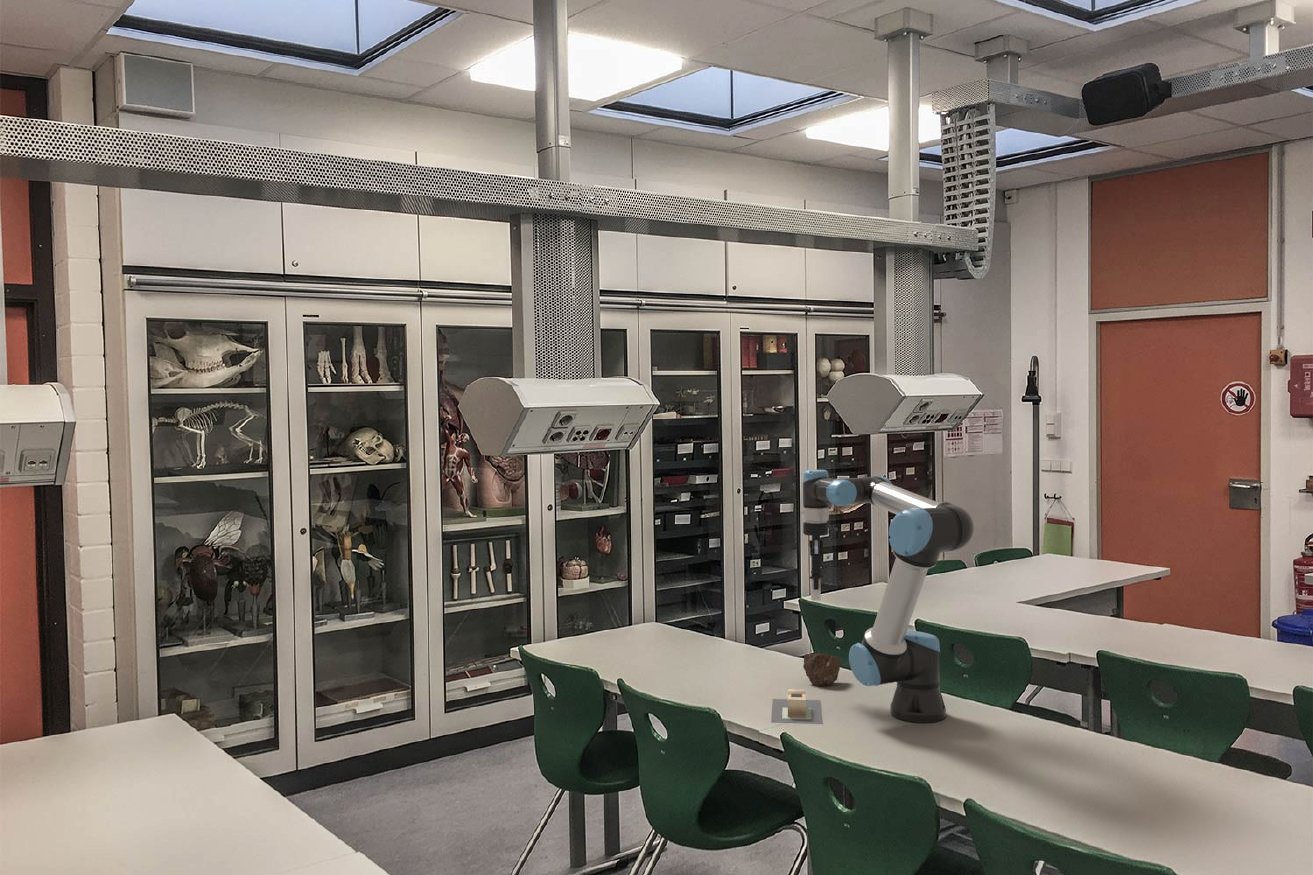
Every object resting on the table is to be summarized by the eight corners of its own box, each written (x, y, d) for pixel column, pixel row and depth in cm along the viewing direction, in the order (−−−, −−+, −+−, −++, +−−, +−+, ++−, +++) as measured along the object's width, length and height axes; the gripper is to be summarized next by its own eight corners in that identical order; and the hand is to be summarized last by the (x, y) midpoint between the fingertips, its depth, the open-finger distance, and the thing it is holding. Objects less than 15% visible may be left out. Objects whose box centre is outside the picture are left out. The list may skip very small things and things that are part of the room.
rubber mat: (772, 700, 306) (772, 698, 305) (820, 701, 304) (820, 699, 304) (771, 723, 284) (771, 721, 284) (822, 725, 282) (822, 723, 282)
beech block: (787, 688, 297) (787, 699, 287) (805, 689, 297) (805, 699, 287) (787, 706, 298) (787, 717, 288) (805, 706, 297) (805, 717, 287)
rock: (835, 662, 328) (850, 651, 320) (837, 694, 323) (851, 683, 315) (799, 656, 326) (813, 644, 318) (800, 687, 320) (814, 676, 312)
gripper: (802, 518, 317) (803, 595, 318) (803, 524, 304) (803, 603, 305) (827, 518, 316) (827, 595, 317) (829, 524, 303) (829, 604, 304)
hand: (816, 599), depth 311 cm, fingers closed
